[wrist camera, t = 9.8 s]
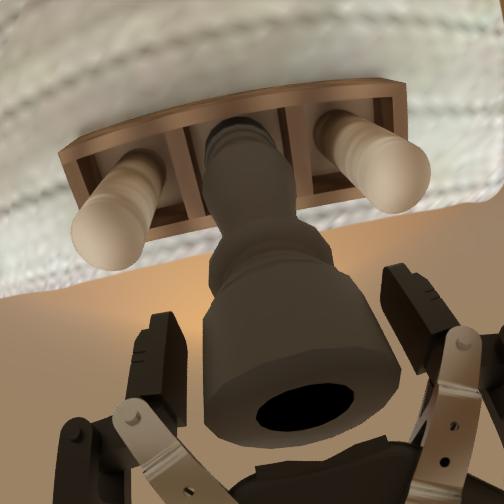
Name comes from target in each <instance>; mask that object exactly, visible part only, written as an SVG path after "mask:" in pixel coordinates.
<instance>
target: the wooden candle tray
mask: <svg viewBox="0 0 504 504" xmlns="http://www.w3.org/2000/svg"><path fill="white" fill-rule="evenodd" d="M235 116H236V117H249V118H251V119H253V120H255V121H257V122H259V123H261V125H262V126H263V127H264V128H265V129H266V131H267V132H268V133H269V134H270V136H271V137H272V138H273V140H274V141H275V144H276V148H277V150H279V151H280V153H281V154H282V155H283V156H284V157H285V159H286V160H287V161H288V162H289V164H290V165H291V167H292V170H293V174H294V178H295V182H296V210H300V209H305V208H310V207H316V206H321V205H326V204H332V203H337V202H343V201H348V200H354V199H359V198H365V197H366V198H367V199H368V200H369V201H370V202H371V203H372V204H373V205H374V206H375V207H376V208H377V209H378V210H380V211H382V212H385V213H389V214H397V213H402V212H405V211H407V210H409V209H411V208H412V207H414V206H415V205H416V204H417V203H418V202H419V201H420V200H421V199H422V197H423V196H424V194H425V192H426V190H427V188H428V185H429V182H430V176H431V169H430V163H429V160H428V158H427V156H426V154H425V153H424V152H423V150H421V149H420V148H419V147H418V146H416V145H414V144H413V143H411V142H409V141H408V115H407V92H406V83H402V82H398V81H393V80H389V79H384V78H361V79H344V80H331V81H320V82H310V83H301V84H293V85H285V86H278V87H271V88H264V89H258V90H252V91H247V92H241V93H236V94H230V95H225V96H221V97H216V98H211V99H207V100H202V101H198V102H193V103H189V104H185V105H181V106H177V107H173V108H170V109H166V110H162V111H159V112H155V113H151V114H148V115H145V116H141V117H138V118H135V119H131V120H128V121H125V122H122V123H119V124H116V125H113V126H110V127H107V128H104V129H101V130H98V131H96V132H93V133H90V134H87V135H85V136H82V137H79V138H78V139H76V140H75V141H73V142H72V143H70V144H69V145H68V146H66V147H65V148H63V149H62V150H61V151H59V152H58V155H59V158H60V161H61V163H62V166H63V169H64V172H65V174H66V177H67V180H68V182H69V185H70V187H71V190H72V192H73V195H74V197H75V200H76V202H77V205H78V207H79V212H78V213H77V214H76V216H75V217H74V219H73V222H72V225H71V239H72V243H73V245H74V247H75V249H76V251H77V252H78V254H79V255H80V256H81V257H82V258H83V259H84V260H85V261H86V262H87V263H89V264H90V265H92V266H94V267H96V268H99V269H102V270H106V271H118V270H123V269H126V268H128V267H130V266H131V265H133V264H134V263H135V262H136V261H137V260H138V259H139V257H140V255H141V253H142V250H143V247H144V244H145V242H148V241H152V240H157V239H161V238H166V237H170V236H175V235H179V234H184V233H188V232H193V231H197V230H202V229H207V228H211V227H216V226H217V224H216V223H215V221H214V219H213V217H212V216H211V214H210V212H209V210H208V208H207V205H206V203H205V200H204V198H203V195H202V190H203V174H204V172H205V170H206V168H205V165H204V158H205V145H206V139H207V138H208V136H209V134H210V132H211V130H212V129H213V128H214V127H215V126H216V125H217V124H219V123H220V122H221V121H222V120H226V119H229V118H232V117H235Z"/></svg>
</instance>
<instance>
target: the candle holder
mask: <svg viewBox="0 0 504 504" xmlns="http://www.w3.org/2000/svg"><path fill="white" fill-rule="evenodd" d="M204 165H205V168H206V170H205V172H204V174H203V190H202V195H203V198H204V200H205V203H206V205H207V208H208V210H209V212H210V214H211V216H212V217H213V219H214V221H215V223H216V224H217V226H218V228H219V230H220V232H221V234H222V239H221V240H220V242H219V244H218V246H217V248H216V249H215V251H214V253H213V255H212V257H211V259H210V261H209V288H210V290H211V292H212V294H213V296H214V297H215V298H214V300H213V302H212V303H211V307H210V309H209V310H208V312H207V313H206V315H205V317H204V318H203V397H204V424H205V425H206V426H207V427H208V428H209V429H210V430H211V431H212V432H213V433H214V434H215V435H216V436H217V437H218V438H220V439H223V440H226V441H229V442H231V443H234V444H237V445H240V446H245V447H256V448H268V449H273V448H285V447H294V446H302V445H306V444H310V443H314V442H318V441H321V440H325V439H328V438H332V437H334V436H336V435H339V434H341V433H343V432H345V431H347V430H349V429H352V428H354V427H356V426H358V425H360V424H362V423H363V422H364V421H366V420H367V419H368V418H370V417H371V416H373V415H374V414H375V413H376V412H378V411H379V410H381V409H382V408H383V407H384V406H385V405H386V404H387V402H388V401H389V400H390V398H391V397H392V396H393V394H394V393H395V392H396V390H397V389H398V387H399V381H400V375H401V367H400V365H399V363H398V361H397V359H396V357H395V355H394V353H393V351H392V349H391V347H390V345H389V343H388V341H387V339H386V337H385V335H384V333H383V331H382V329H381V327H380V325H379V323H378V321H377V319H376V317H375V315H374V314H373V312H372V310H371V308H370V306H369V304H368V302H367V300H366V299H365V297H364V295H363V294H362V292H361V291H360V290H359V289H358V287H357V286H356V284H355V283H354V282H353V281H352V279H351V278H350V276H348V275H346V274H344V273H342V272H339V271H338V270H337V269H336V267H334V264H333V257H332V251H331V248H330V246H329V245H328V243H327V242H326V241H325V239H324V238H323V237H322V236H321V234H320V233H319V232H318V231H317V229H316V228H315V227H313V226H311V225H309V224H307V223H305V222H303V221H301V220H299V219H298V218H297V216H296V182H295V178H294V174H293V170H292V167H291V165H290V164H289V162H288V161H287V160H286V159H285V157H284V156H283V155H282V154H281V153H280V151H279V150H277V148H276V144H275V141H274V140H273V138H272V137H271V136H270V134H269V133H268V132H267V131H266V129H265V128H264V127H263V126H262V125H261V123H259V122H257V121H255V120H253V119H251V118H249V117H236V116H235V117H232V118H229V119H226V120H222V121H221V122H220V123H219V124H217V125H216V126H215V127H214V128H213V129H212V130H211V132H210V134H209V136H208V138H207V139H206V145H205V158H204Z"/></svg>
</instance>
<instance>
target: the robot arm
mask: <svg viewBox="0 0 504 504" xmlns="http://www.w3.org/2000/svg"><path fill="white" fill-rule="evenodd" d="M380 302H381V307H382V310H383V312H384V314H385V316H386V318H387V320H388V321H389V323H390V325H391V327H392V329H393V330H394V332H395V334H396V336H397V338H398V340H399V342H400V344H401V345H402V347H403V349H404V351H405V353H406V355H407V357H408V359H409V360H410V363H411V365H412V366H413V369H414V371H415V372H416V375H419V374H422V373H425V372H427V374H428V376H429V379H428V382H427V386H426V390H425V393H424V397H423V401H422V405H421V408H420V412H419V415H418V419H417V422H416V424H415V427H414V429H413V431H412V434H411V436H410V439H409V441H408V443H406V442H399V441H389V442H388V440H387V437H386V435H383V436H380V437H377V438H374V439H371V440H368V441H365V442H362V443H358V444H355V445H353V446H352V447H350V448H348V449H346V450H344V451H342V452H341V453H339V454H337V455H335V456H333V457H331V458H329V459H327V460H324V461H284V462H278V463H273V464H267V465H260V466H255V470H256V473H255V474H252V475H250V476H248V477H246V478H244V479H243V480H241V481H240V482H238V483H237V484H236V485H234V487H232V488H231V489H230V490H227V489H226V488H225V487H224V486H223V485H222V484H221V483H220V482H219V481H218V480H217V479H216V478H215V477H214V476H213V475H212V474H211V473H210V472H209V471H208V470H207V469H206V468H205V467H204V466H203V465H202V464H201V463H200V462H199V461H198V460H197V459H196V458H195V457H194V456H193V455H192V453H191V452H190V451H189V450H188V449H187V448H186V447H185V446H184V445H183V444H182V442H181V441H180V440H179V439H178V438H177V427H185V426H186V425H187V424H186V422H187V416H186V415H187V414H186V413H187V410H186V409H187V358H188V350H187V344H186V340H185V338H184V335H183V333H182V331H181V329H180V327H179V325H178V323H177V320H176V318H175V316H174V314H173V313H172V312H171V311H170V312H163V313H157V314H152V316H151V319H150V325H149V329H145V330H141V332H140V334H139V336H138V337H137V338H136V340H135V343H134V349H133V355H132V360H131V363H132V364H131V366H130V372H129V378H128V385H127V391H126V397H125V400H124V401H123V402H121V403H120V404H119V405H118V406H117V407H116V409H115V411H114V412H113V415H112V416H110V417H108V418H105V419H102V420H99V421H96V422H93V423H90V422H89V421H88V420H86V419H85V418H81V417H76V418H72V419H70V420H69V421H67V422H66V423H65V425H64V426H63V428H62V430H61V433H60V439H59V445H58V453H57V461H56V470H55V480H54V492H53V504H131V468H134V467H137V466H140V465H141V467H142V468H143V470H144V472H143V474H144V476H145V478H146V479H147V481H148V482H149V484H150V485H151V486H152V487H153V489H154V490H155V491H156V493H157V494H158V495H159V496H160V497H161V499H162V500H163V501H164V502H165V503H166V504H504V491H503V490H501V489H499V488H497V487H495V486H493V485H491V484H489V483H487V482H485V481H483V480H481V479H479V478H477V477H475V476H473V475H471V474H469V473H467V471H468V467H469V463H470V459H471V455H472V451H473V446H474V442H475V437H476V432H477V426H478V421H479V415H480V408H481V402H482V398H483V400H484V403H485V405H486V407H487V409H488V411H489V413H490V416H491V418H492V420H493V423H494V425H495V427H496V430H497V432H498V434H499V437H500V439H501V442H502V445H503V447H504V326H502V328H501V330H500V332H499V334H487V335H479V334H478V333H477V332H476V331H475V330H474V329H472V328H470V327H467V326H461V325H460V324H459V322H458V321H457V319H456V318H455V316H454V315H453V314H452V312H451V311H450V310H449V308H448V307H447V305H446V304H445V302H444V301H443V300H442V298H440V296H439V294H438V293H437V292H436V291H435V290H434V288H433V286H432V285H431V284H430V282H429V281H428V280H427V279H426V278H424V277H423V276H421V275H420V274H418V273H413V274H412V273H411V272H410V271H409V269H408V268H407V267H406V265H405V264H404V263H399V264H395V265H390V266H387V267H384V269H383V274H382V284H381V293H380ZM478 390H479V392H480V393H479V392H478Z"/></svg>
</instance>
